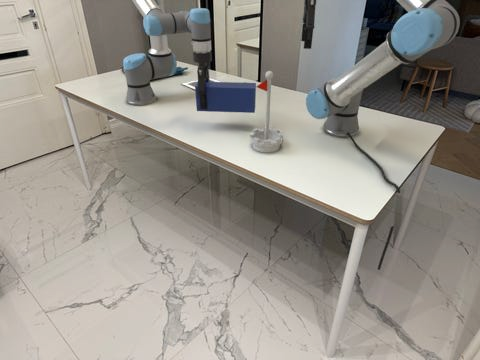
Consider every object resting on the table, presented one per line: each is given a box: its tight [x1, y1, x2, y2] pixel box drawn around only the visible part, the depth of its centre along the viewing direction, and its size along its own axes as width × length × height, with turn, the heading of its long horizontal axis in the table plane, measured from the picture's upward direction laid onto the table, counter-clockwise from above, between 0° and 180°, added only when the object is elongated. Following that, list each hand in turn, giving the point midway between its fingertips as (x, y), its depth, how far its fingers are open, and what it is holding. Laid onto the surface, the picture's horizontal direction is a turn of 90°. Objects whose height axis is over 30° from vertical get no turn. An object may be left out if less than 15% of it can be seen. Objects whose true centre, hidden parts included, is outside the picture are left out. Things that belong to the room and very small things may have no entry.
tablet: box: [181, 77, 221, 91], centre depth 200 cm, size 32×20×1 cm, turn 41°
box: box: [194, 81, 257, 114], centre depth 147 cm, size 25×8×11 cm, turn 85°
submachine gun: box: [150, 66, 189, 81], centre depth 223 cm, size 34×4×25 cm
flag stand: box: [249, 70, 284, 153], centre depth 129 cm, size 13×13×30 cm
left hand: (205, 105), depth 150 cm, fingers closed on box, 7 cm apart
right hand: (305, 44), depth 132 cm, fingers open, 13 cm apart
